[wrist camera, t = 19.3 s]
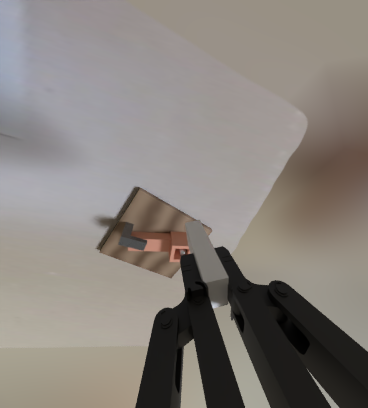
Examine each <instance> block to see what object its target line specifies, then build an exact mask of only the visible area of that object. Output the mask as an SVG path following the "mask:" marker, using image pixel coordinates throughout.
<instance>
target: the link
mask: <svg viewBox="0 0 368 408" xmlns="http://www.w3.org/2000/svg"><path fill="white" fill-rule="evenodd" d="M131 236H134V237H138V238H141V239H145V240H147V245H146V247H145V249H144V251H156V252H169V262H180V259H181V256H180V251H179V249H186V252H187V254H190V250H189V246H188V241H187V234H186V232H170V233H152V232H133V231H132V233H131ZM128 251H141V250H137V249H133V248H129V247H128Z"/></svg>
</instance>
